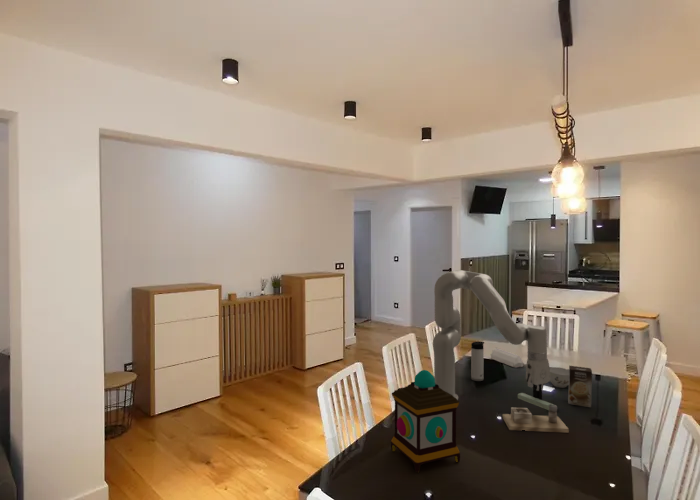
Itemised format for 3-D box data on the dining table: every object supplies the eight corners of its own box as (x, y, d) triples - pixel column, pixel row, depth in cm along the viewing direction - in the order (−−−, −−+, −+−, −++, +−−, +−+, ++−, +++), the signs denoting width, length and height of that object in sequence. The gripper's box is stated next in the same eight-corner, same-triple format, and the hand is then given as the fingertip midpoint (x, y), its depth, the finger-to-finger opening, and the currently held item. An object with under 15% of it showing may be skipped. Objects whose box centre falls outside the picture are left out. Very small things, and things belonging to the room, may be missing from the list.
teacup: (572, 391, 216) (573, 375, 216) (545, 387, 222) (545, 371, 222) (574, 383, 229) (574, 367, 229) (548, 379, 235) (548, 364, 235)
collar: (515, 423, 176) (515, 413, 176) (511, 416, 182) (511, 407, 182) (531, 424, 175) (531, 414, 175) (527, 417, 181) (527, 407, 181)
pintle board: (509, 429, 173) (509, 415, 173) (502, 417, 185) (502, 403, 185) (568, 432, 171) (568, 417, 171) (557, 419, 183) (558, 406, 182)
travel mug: (484, 381, 231) (484, 343, 231) (471, 380, 233) (471, 342, 232) (483, 377, 237) (483, 340, 237) (470, 377, 239) (470, 340, 238)
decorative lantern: (414, 477, 139) (415, 382, 139) (385, 449, 158) (385, 365, 157) (466, 464, 147) (467, 374, 147) (432, 439, 166) (432, 359, 165)
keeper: (553, 412, 175) (553, 407, 175) (517, 398, 190) (517, 394, 190) (558, 410, 176) (558, 406, 176) (522, 396, 192) (522, 392, 192)
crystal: (528, 360, 257) (500, 350, 279) (520, 355, 255) (492, 346, 277) (523, 372, 256) (495, 361, 278) (514, 367, 253) (487, 356, 276)
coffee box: (568, 404, 200) (568, 369, 199) (568, 399, 205) (568, 365, 205) (591, 407, 196) (592, 371, 195) (590, 402, 202) (591, 367, 201)
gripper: (532, 360, 179) (533, 405, 180) (556, 355, 187) (557, 398, 187) (517, 356, 186) (518, 399, 186) (541, 351, 193) (541, 393, 194)
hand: (537, 398), depth 187 cm, fingers closed
